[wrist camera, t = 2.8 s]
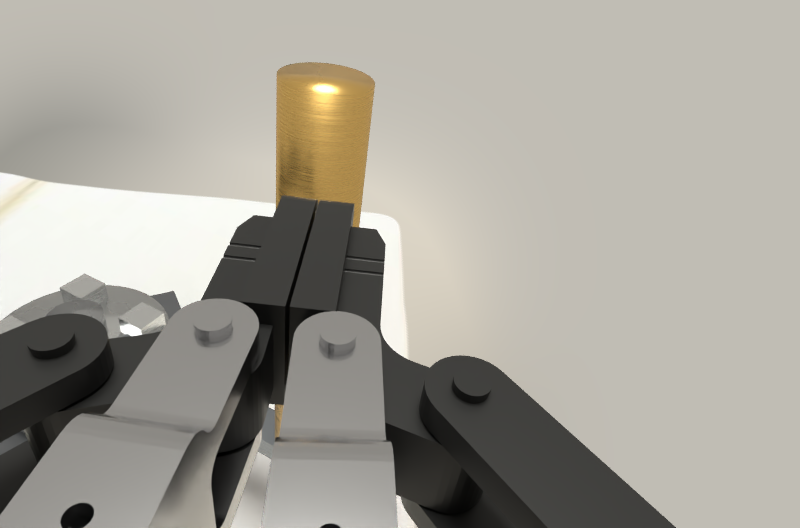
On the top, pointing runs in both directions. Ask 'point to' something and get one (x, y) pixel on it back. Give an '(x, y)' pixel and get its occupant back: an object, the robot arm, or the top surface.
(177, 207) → the top surface
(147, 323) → the crank handle
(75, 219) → the top surface
